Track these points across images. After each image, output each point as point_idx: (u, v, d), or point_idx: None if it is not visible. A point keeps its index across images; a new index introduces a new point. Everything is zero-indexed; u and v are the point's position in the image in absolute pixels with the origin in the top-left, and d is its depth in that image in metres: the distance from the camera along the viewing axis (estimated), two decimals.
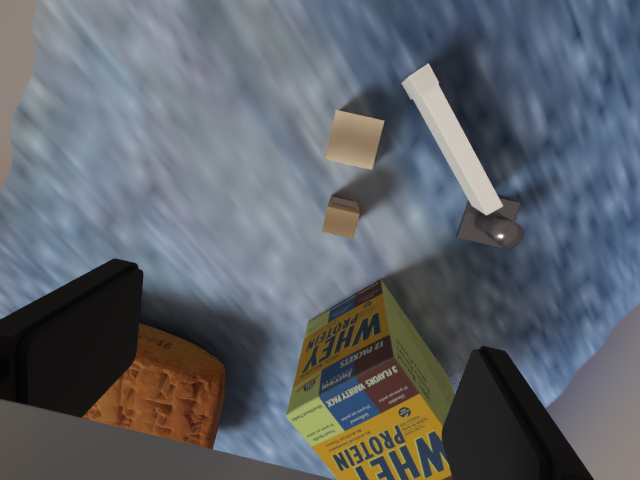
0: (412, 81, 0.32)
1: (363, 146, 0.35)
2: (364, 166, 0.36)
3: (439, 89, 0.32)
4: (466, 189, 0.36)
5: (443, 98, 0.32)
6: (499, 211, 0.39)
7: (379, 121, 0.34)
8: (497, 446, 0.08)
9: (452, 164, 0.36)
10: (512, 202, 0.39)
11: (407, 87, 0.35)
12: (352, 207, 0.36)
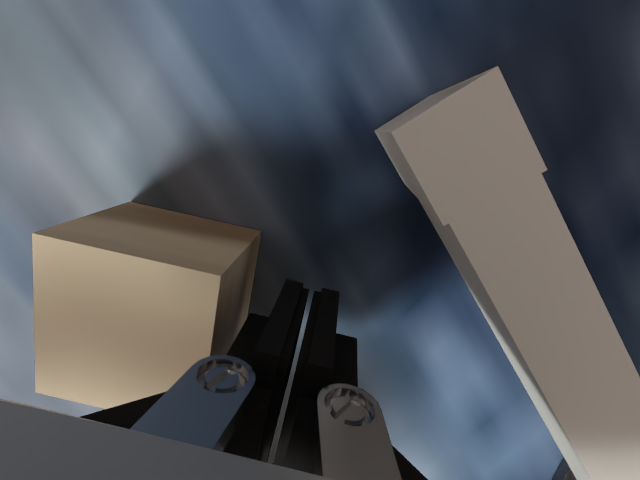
0: (408, 158, 0.06)
1: (156, 359, 0.09)
2: None
3: (547, 201, 0.06)
4: None
5: (564, 244, 0.06)
6: None
7: (202, 277, 0.09)
8: None
9: (544, 416, 0.10)
10: None
11: (391, 154, 0.09)
12: None
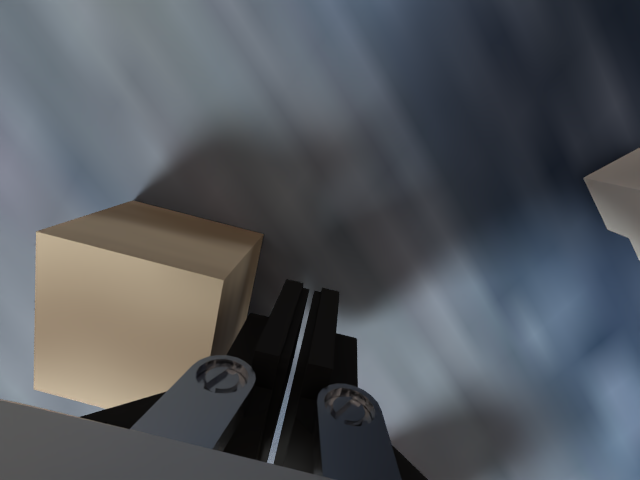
0: None
1: (156, 361, 0.09)
2: None
3: None
4: None
5: None
6: None
7: (206, 280, 0.09)
8: None
9: None
10: None
11: (637, 210, 0.09)
12: None
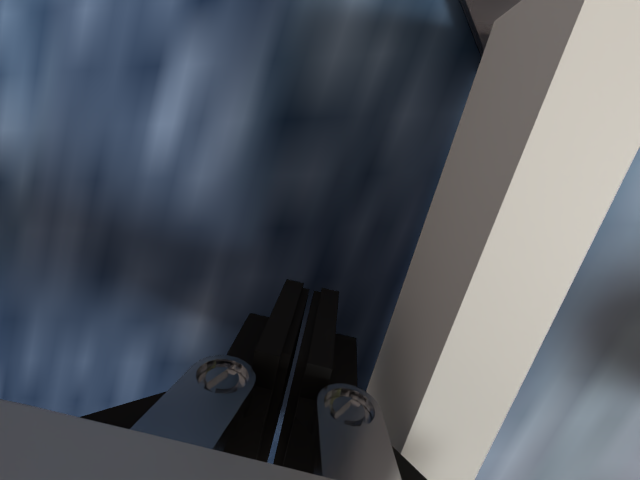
0: None
1: None
2: None
3: None
4: None
5: None
6: None
7: None
8: None
9: None
10: None
11: None
12: None
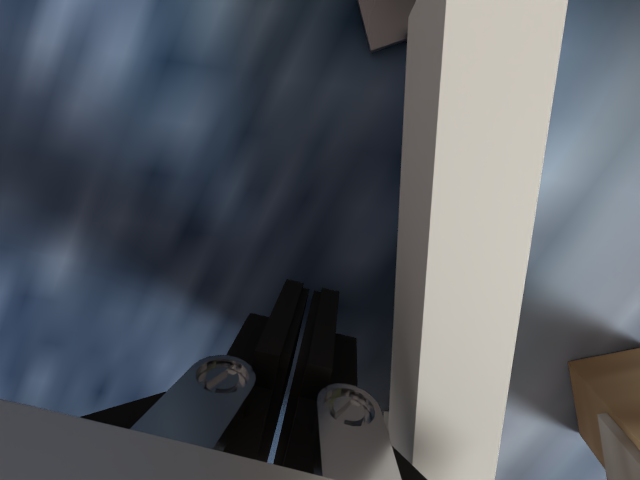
0: None
1: None
2: None
3: None
4: None
5: None
6: None
7: None
8: None
9: None
10: None
11: None
12: None
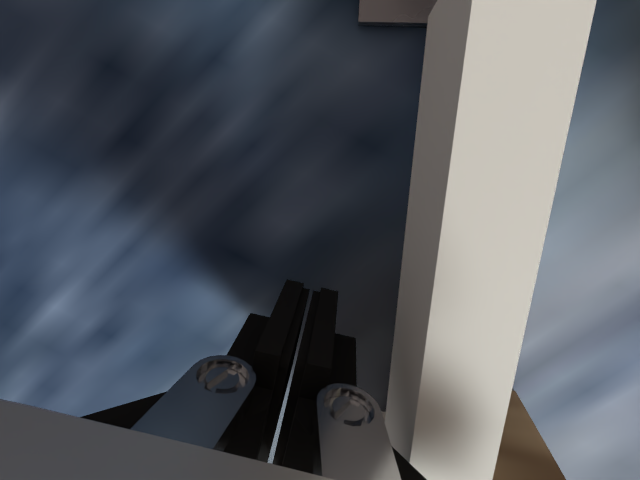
0: None
1: None
2: None
3: None
4: None
5: None
6: None
7: None
8: None
9: None
10: None
11: None
12: None
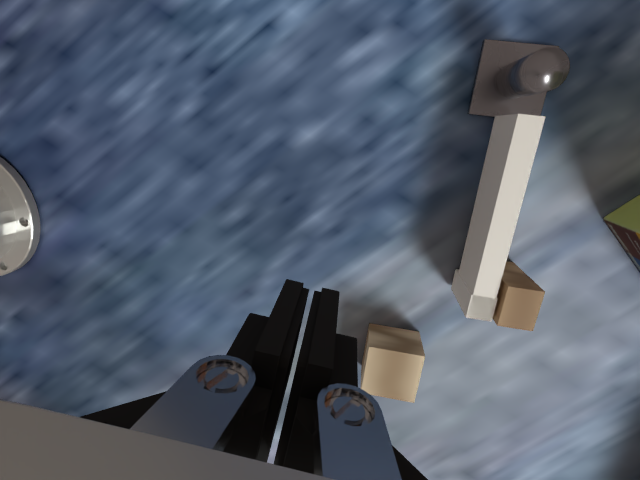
0: (492, 314, 0.27)
1: (398, 366, 0.31)
2: (421, 364, 0.31)
3: (476, 289, 0.27)
4: None
5: (479, 278, 0.26)
6: (497, 67, 0.27)
7: (370, 351, 0.31)
8: None
9: None
10: (484, 52, 0.27)
11: None
12: None
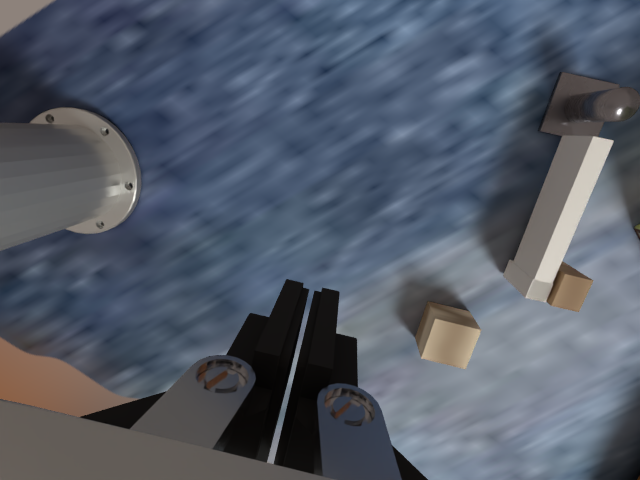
0: (547, 296, 0.33)
1: (457, 337, 0.37)
2: (476, 336, 0.36)
3: (537, 274, 0.33)
4: None
5: (541, 266, 0.32)
6: (569, 96, 0.33)
7: (435, 322, 0.36)
8: None
9: None
10: (560, 82, 0.33)
11: None
12: None
